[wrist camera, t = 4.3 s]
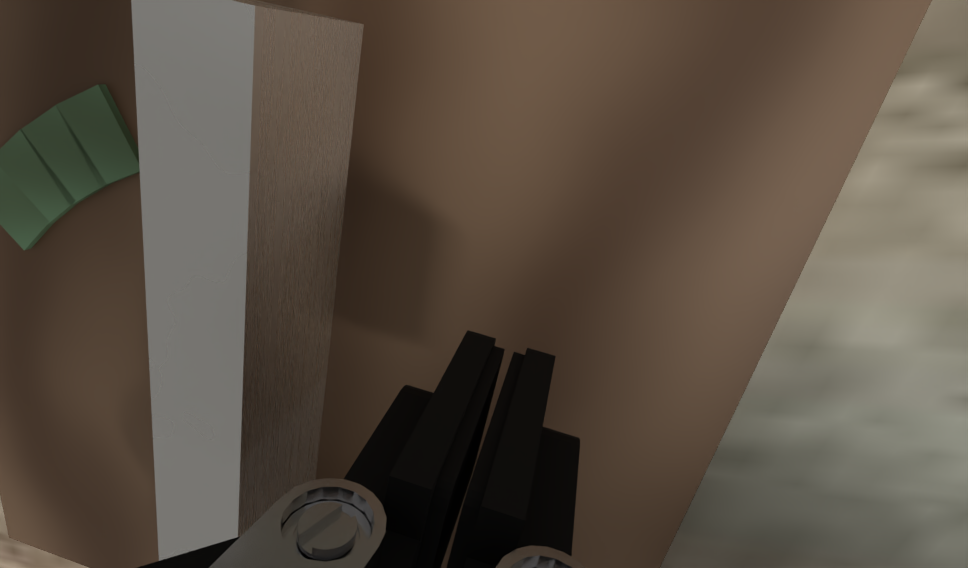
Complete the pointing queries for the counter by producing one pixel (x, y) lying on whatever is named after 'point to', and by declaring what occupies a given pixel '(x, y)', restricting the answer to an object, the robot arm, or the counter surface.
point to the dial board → (453, 235)
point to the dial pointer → (238, 248)
